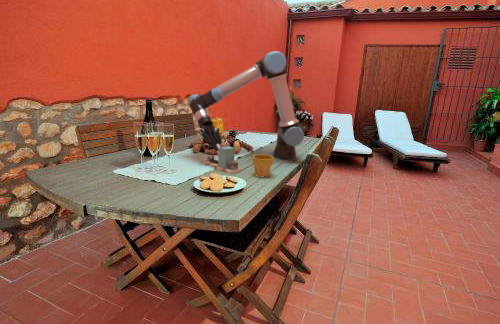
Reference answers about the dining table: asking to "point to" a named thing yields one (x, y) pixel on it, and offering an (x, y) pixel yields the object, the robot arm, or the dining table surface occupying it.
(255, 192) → the dining table surface
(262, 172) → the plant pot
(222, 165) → the marker sleeve
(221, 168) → the cord board
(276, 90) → the robot arm
